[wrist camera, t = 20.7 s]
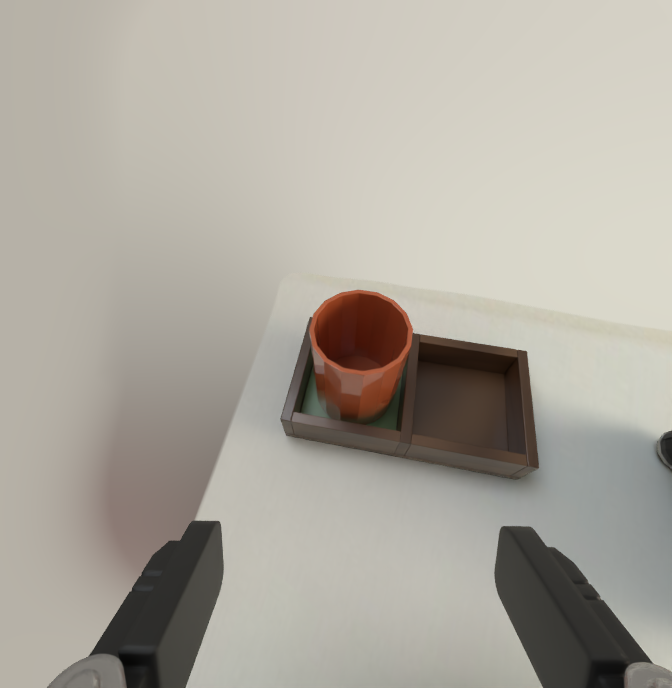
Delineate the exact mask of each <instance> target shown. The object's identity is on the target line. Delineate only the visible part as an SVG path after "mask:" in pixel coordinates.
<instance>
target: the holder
mask: <svg viewBox="0 0 672 688" xmlns="http://www.w3.org/2000/svg"><path fill="white" fill-rule="evenodd" d="M312 318H313V317H310V319H309V322H308V325H307V329H306V332H305V336H304V339H303V343H302V346H301V350H300V353H299V357H298V360H297V364H296V367H295V371H294V374H293V378H292V381H291V384H290V388H289V391H288V395H287V398H286V402H285V405H284V409H283V412H282V416H281V422H282V425H283V428H284V431H285V433H286V435H288V436H293V437H298V438H304V439H309V440H314V441H319V442H324V443H330V444H335V445H340V446H345V447H350V448H355V449H361V450H366V451H371V452H376V453H381V454H387V455H392V456H397V457H402V458H407V459H413V460H418V461H423V462H428V463H433V464H439V465H444V466H449V467H454V468H459V469H465V470H470V471H475V472H480V473H485V474H491V475H496V476H501V477H506V478H511V479H519V478H521V477H523V476H525V475H527V474H528V473H530V472H532V471H534V470H536V469H538V468H539V463H538V453H537V444H536V434H535V424H534V415H533V405H532V395H531V386H530V376H529V367H528V357H527V351H522V350H516V349H510V348H503V347H497V346H491V345H484V344H478V343H471V342H465V341H459V340H452V339H446V338H440V337H433V336H427V335H420V334H415V333H412V343H411V348H410V351H409V354H408V357H407V360H406V363H405V366H404V369H403V372H402V375H401V378H400V381H399V384H398V387H397V390H396V393H395V396H394V399H393V401H392V403H391V405H390V407H389V409H388V410H387V412H386V413H385V414H384V415H383V416H382V417H381V418H380V419H378V420H376V421H375V422H373V423H370V424H367V425H363V424H357V423H352V422H346V421H341V420H336V419H332V418H331V417H329V416H328V415H327V414H326V413H325V412H324V410H323V409H322V408H321V406H320V404H319V402H318V399H317V394H316V388H315V380H314V370H313V361H312V351H311V342H310V332H309V329H310V325H311V322H312Z"/></svg>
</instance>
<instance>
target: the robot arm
mask: <svg viewBox="0 0 672 688" xmlns="http://www.w3.org/2000/svg"><path fill="white" fill-rule="evenodd" d="M223 570H224V564H223V549H222V533H221V524H220V522H219V521H192V522H191V523H190V524H189V526H188V528H187V529H186V531H185V533H184V535H183V536H182V539H181V540H180V541H169V542H168V543H166V544H165V545H164V546H163V547H162V548H161V549H160V550H159V551H157V552H156V553H155V554H154V555H153V556H152V557H151V559H150V561H149V562H148V564H147V565H146V567H145V568H144V570H143V572H142V575H141V576H140V577H139V578H138V580H137V581H136V583H135V584H134V586H133V588H132V591H131V592H129V594H128V595H127V597H126V599H125V600H124V602H123V604H122V605H121V606H120V608H119V610H118V611H117V613H116V614H115V616H114V618H113V619H112V621H111V622H110V624H109V626H108V627H107V629H106V631H105V632H104V633H103V635H102V637H101V638H100V640H99V641H98V643H97V645H96V646H95V648H94V650H93V651H92V653H91V654H90V655H89V656H88V657H86V658H84V659H82V660H80V661H78V662H76V663H74V664H73V665H71V666H70V667H68V668H67V669H66V670H64V671H63V672H62V673H61V674H59V675H58V676H57V677H56V678H55V679H54V680H53V681H52V682H51V683H50V685H49V686H48V687H47V688H185V687H186V684H187V682H188V679H189V676H190V673H191V671H192V668H193V665H194V662H195V659H196V657H197V654H198V651H199V648H200V645H201V643H202V640H203V637H204V634H205V631H206V629H207V626H208V623H209V620H210V618H211V615H212V612H213V609H214V606H215V604H216V601H217V598H218V595H219V592H220V589H221V585H222V579H223ZM495 583H496V588H497V592H498V595H499V597H500V599H501V601H502V604H503V606H504V608H505V610H506V612H507V614H508V616H509V618H510V620H511V622H512V624H513V626H514V628H515V630H516V633H517V635H518V637H519V639H520V641H521V643H522V645H523V647H524V649H525V651H526V653H527V655H528V657H529V659H530V661H531V664H532V666H533V668H534V670H535V672H536V674H537V676H538V678H539V680H540V682H541V684H542V686H543V688H672V672H671V671H669V670H667V669H665V668H663V667H661V666H658V665H655V664H653V663H652V661H651V660H650V659H649V658H648V656H647V655H646V654H645V653H644V651H643V650H642V649H641V648H640V646H639V645H638V644H637V642H636V641H635V640H634V639H633V637H632V636H631V635H630V634H629V632H628V631H627V630H626V628H625V627H624V626H623V625H622V623H621V622H620V621H619V620H618V618H617V617H616V616H615V614H614V613H613V612H612V611H611V609H610V608H609V607H608V606H607V604H606V603H605V602H604V600H601V599H600V595H599V594H598V593H597V592H596V590H595V589H594V588H593V586H592V585H591V584H589V583H588V580H587V579H586V578H585V576H584V575H583V574H582V573H581V571H580V570H579V569H578V567H577V566H576V565H575V564H574V563H573V562H572V561H571V560H570V559H568V558H567V557H566V556H565V555H563V554H562V553H561V552H559V551H558V550H557V549H556V548H554V547H547V546H546V545H545V544H544V542H543V541H542V540H541V538H540V537H539V536H538V534H537V533H536V532H535V530H534V529H533V528H531V527H521V526H503V527H502V528H501V529H500V533H499V541H498V548H497V556H496V564H495Z"/></svg>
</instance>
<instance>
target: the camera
mask: <svg viewBox="0 0 672 688" xmlns="http://www.w3.org/2000/svg"><path fill="white" fill-rule="evenodd" d="M657 449H658V454H659V456H660V457H661V459H662V461H663V462H664V463H665V464H666V465H667V466H669V467H670V468H671V469H672V431H669V432H666V433H664V434H663V435H662V436H661V437H660V439H659V440H658V441H657Z"/></svg>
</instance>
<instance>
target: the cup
mask: <svg viewBox="0 0 672 688" xmlns="http://www.w3.org/2000/svg"><path fill="white" fill-rule="evenodd" d="M309 332H310V342H311V351H312V361H313V370H314V380H315V388H316V394H317V399H318V402H319V404H320V406H321V408H322V409H323V410H324V412H325V413H326V414H327V415H328V416H329V417H331V418H332V419H336V420H341V421H346V422H352V423H357V424H363V425H367V424H370V423H373V422H375V421H376V420H378V419H380V418H381V417H382V416H383V415H384V414H385V413H386V412H387V410H388V409H389V407H390V405H391V403H392V401H393V399H394V396H395V393H396V390H397V387H398V384H399V381H400V378H401V375H402V372H403V369H404V366H405V363H406V360H407V357H408V354H409V351H410V348H411V343H412V333H413V329H412V326H411V323H410V321H409V318H408V316H407V314H406V312H405V311H404V310H403V309H402V308H401V307H400V306H399V305H398V304H397V303H396V302H395V301H394V300H392V299H390V298H388V297H386V296H384V295H382V294H380V293H377V292H370V291H364V290H355V291H348V292H342V293H339V294H337V295H335V296H333V297H331V298H330V299H328V300H326V301H324V303H323V304H322V305H321V306H320V307H319V308H318V309H317V311H316V312H315V313H314V314H313V318H312V322H311V325H310V329H309Z"/></svg>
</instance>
